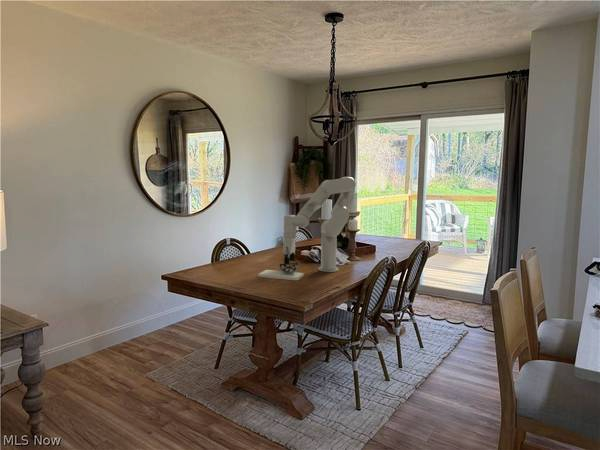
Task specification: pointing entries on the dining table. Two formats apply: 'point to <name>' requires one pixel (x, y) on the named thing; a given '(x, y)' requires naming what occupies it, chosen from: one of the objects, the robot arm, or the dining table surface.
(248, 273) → the dining table surface
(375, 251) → the dining table surface
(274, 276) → the cutting board
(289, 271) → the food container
